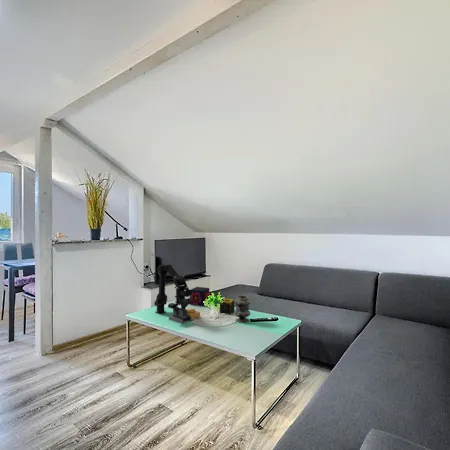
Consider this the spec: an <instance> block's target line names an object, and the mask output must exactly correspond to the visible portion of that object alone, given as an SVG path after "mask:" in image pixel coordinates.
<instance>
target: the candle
mask: <svg viewBox="0 0 450 450" xmlns="http://www.w3.org/2000/svg"><path fill="white" fill-rule="evenodd" d="M223 299H224V302H223V303H220V302H219V314H221V313H225V314H224V315H232V314H233V313H234V312H235V310H236V307H235V299H232V298H223Z"/></svg>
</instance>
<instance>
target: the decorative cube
mask: <svg viewBox="0 0 450 450" xmlns="http://www.w3.org/2000/svg"><path fill="white" fill-rule="evenodd" d="M190 291H191V294H190V296H189V298H190V300H191V304H189V305H190V306H198V307H199V306H200V307H201V306H202V307H204V306H205V305H204V303H203V301H204V300H205V299H206V298H207V297H208V296H209V295H210V296H211V293H210V287H203V286H202V287H201V286H196V287H193V288H191V289H190Z"/></svg>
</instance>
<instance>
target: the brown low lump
mask: <svg viewBox="0 0 450 450" xmlns="http://www.w3.org/2000/svg"><path fill="white" fill-rule="evenodd" d="M185 309H186V310H187V316H190V317H192V320H195V319H197V318H196V317H198V318H200V317H201V312H200V311H199V310H196V309H195V308H191V307H190V308H185ZM199 316H200V317H199ZM194 318H195V319H194Z"/></svg>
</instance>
